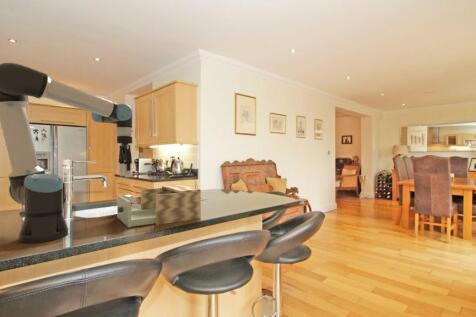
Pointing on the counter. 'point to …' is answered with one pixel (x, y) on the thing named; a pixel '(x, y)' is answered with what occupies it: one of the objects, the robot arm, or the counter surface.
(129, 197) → the disc
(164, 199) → the case
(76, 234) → the counter surface
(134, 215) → the tray
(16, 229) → the counter surface
